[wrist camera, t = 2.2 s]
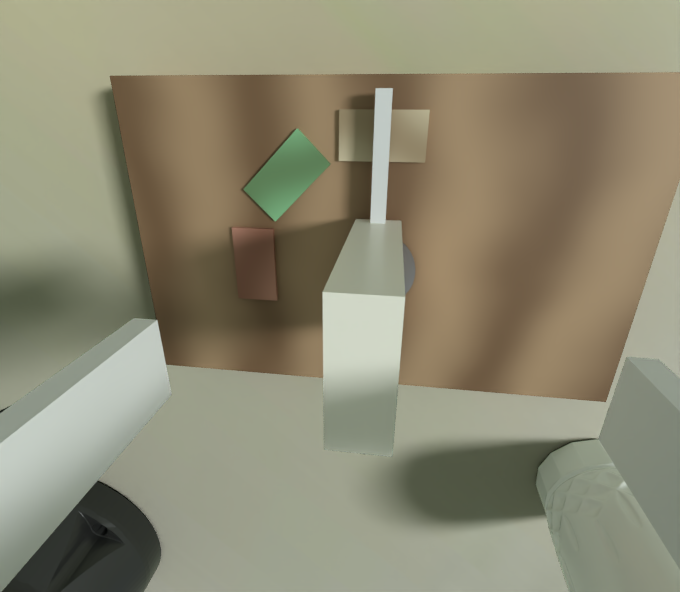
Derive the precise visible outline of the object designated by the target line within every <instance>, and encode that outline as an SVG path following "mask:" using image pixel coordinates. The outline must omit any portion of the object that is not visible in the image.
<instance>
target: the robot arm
mask: <svg viewBox="0 0 680 592" xmlns="http://www.w3.org/2000/svg"><path fill="white" fill-rule="evenodd" d="M171 395H172V393H171V388H170V383H169V378H168V372H167V367H166V362H165V357H164V352H163V347H162V342H161V337H160V331H159V326H158V321H157V320H153V319H140V318H133V319H132V320H130V321H129V322H128V323H126V324H125V325H123V326H122V327H121V328H119V329H118V330H116V331H115V332H114V333H112V334H111V335H109V336H108V337H107V338H105V339H104V340H102V341H101V342H100V343H98V344H97V345H95V346H94V347H93V348H91V349H90V350H88V351H87V352H86V353H84V354H83V355H81V356H80V357H79V358H77V359H76V360H74V361H73V362H72V363H70V364H69V365H67V366H66V367H65V368H63V369H62V370H60V371H59V372H58V373H56V374H55V375H53V376H52V377H50V378H49V379H48V380H46V381H45V382H43V383H42V384H41V385H39V386H38V387H36V388H35V389H34V390H32V391H31V392H29V393H28V394H27V395H25V396H24V397H22V398H21V399H20V400H18V401H17V402H15V403H14V404H13V405H11V406H9V407H7V408H5V409H3V410H0V592H144V590H145V589H146V587H147V585H148V584H149V582H150V580H151V578H152V576H153V574H154V573H155V571H156V569H157V567H158V565H159V563H160V558H161V547H160V543H159V539H158V537H157V534H156V532H155V530H154V529H153V527H152V525H151V524H150V522H149V521H148V520H147V518H146V517H145V516H144V515H143V514H142V513H141V511H140V510H139V509H138V508H136V507H135V506H134V505H133V504H132V503H131V502H130V501H128V500H127V499H126V498H124V497H123V496H122V495H120V494H119V493H117V492H116V491H114V490H112V489H111V488H109V487H107V486H105V485H103V484H101V483H99V482H97V481H98V479H99V478H100V477H101V476H102V475H103V474H104V472H105V471H106V470H107V469H108V468H109V467H110V465H111V464H112V463H113V462H114V461H115V460H116V459H117V457H118V456H119V455H120V454H121V453H122V452H123V450H124V449H125V448H126V447H127V446H128V445H129V443H130V442H131V441H132V440H133V439H134V438H135V437H136V435H137V434H138V433H139V432H140V431H141V430H142V428H143V427H144V426H145V425H146V424H147V423H148V421H149V420H150V419H151V418H152V417H153V416H154V414H155V413H156V412H157V411H158V410H159V409H160V408H161V406H162V405H163V404H164V403H165V402H166V401H167V399H168V398H169V397H170V396H171ZM598 439H599V441H600V443H601V444H602V446H603V447H604V449H605V451H606V452H607V454H608V455H609V457H610V459H611V460H612V462H613V463H614V465H615V467H616V468H617V470H618V472H619V473H620V475H621V476H622V478H623V480H624V481H625V483H626V484H627V486H628V488H629V489H630V491H631V492H632V494H633V496H634V497H635V499H636V500H637V502H638V504H639V505H640V507H641V508H642V510H643V512H644V513H645V515H646V516H647V518H648V520H649V521H650V523H651V524H652V526H653V528H654V529H655V531H656V532H657V534H658V536H659V537H660V539H661V540H662V542H663V544H664V545H665V547H666V548H667V550H668V552H669V553H670V555H671V557H672V558H673V560H674V561H675V563H676V565H677V566H678V568H679V569H680V378H679V377H678V376H677V375H675V374H674V373H673V372H672V371H671V370H670V369H669V368H668V367H667V366H666V365H665V364H663V363H662V362H661V361H660V360H659V359H648V358H635V357H626V360H625V363H624V366H623V369H622V372H621V375H620V378H619V380H618V383H617V386H616V389H615V392H614V395H613V398H612V401H611V404H610V407H609V409H608V412H607V415H606V418H605V421H604V424H603V427H602V430H601V433H600V435H599V438H598Z"/></svg>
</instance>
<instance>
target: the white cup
mask: <svg viewBox="0 0 680 592" xmlns="http://www.w3.org/2000/svg"><path fill="white" fill-rule="evenodd" d="M536 487H537V490H538V493H539V496H540V498H541V501H542V504H543V507H544V510H545V513H546V516H547V521H548V528H549V531H550V534H551V538H552V541H553V544H554V547H555V550H556V554H557V558H558V561H559V564H560V567H561V570H562V573H563V576H564V579H565V582H566V585H567V588H568V591H569V592H680V569H679V568H678V566H677V565H676V563H675V561H674V560H673V558H672V557H671V555H670V553H669V552H668V550H667V548H666V547H665V545H664V544H663V542H662V540H661V539H660V537H659V536H658V534H657V532H656V531H655V529H654V528H653V526H652V524H651V523H650V521H649V520H648V518H647V516H646V515H645V513H644V512H643V510H642V508H641V507H640V505H639V504H638V502H637V500H636V499H635V497H634V496H633V494H632V492H631V491H630V489H629V488H628V486H627V484H626V483H625V481H624V480H623V478H622V476H621V475H620V473H619V472H618V470H617V468H616V467H615V465H614V463H613V462H612V460H611V459H610V457H609V455H608V454H607V452H606V451H605V449H604V447H603V446H602V444H601V443H600V441H599V440H598V439H594V440H586V441H579V442H572V443H569V444H567V445H565V446H563V447H561V448H559V449H557V450H555V451H553V452H551V453H550V454H549V456H548V457H547V458H546V459H545V460H544V461H543V463H542V464H541V465H540V466H539V467H538V473H537V480H536Z"/></svg>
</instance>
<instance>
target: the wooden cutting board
mask: <svg viewBox="0 0 680 592" xmlns="http://www.w3.org/2000/svg"><path fill="white" fill-rule="evenodd" d="M110 80H111V85H112V90H113V95H114V101H115V106H116V111H117V116H118V121H119V127H120V132H121V137H122V142H123V148H124V153H125V158H126V163H127V169H128V174H129V179H130V184H131V190H132V195H133V200H134V205H135V211H136V216H137V221H138V226H139V231H140V237H141V242H142V247H143V252H144V258H145V263H146V268H147V273H148V279H149V284H150V289H151V294H152V300H153V305H154V310H155V315H156V320H157V321H158V326H159V331H160V337H161V342H162V347H163V352H164V357H165V362H166V365H178V366H190V367H201V368H213V369H225V370H237V371H248V372H260V373H272V374H284V375H295V376H307V377H319V378H323V293H322V292H323V290H324V288H325V285H326V283H327V281H328V279H329V277H330V274H331V272H332V270H333V268H334V266H335V264H336V261H337V259H338V257H339V255H340V253H341V250H342V248H343V246H344V244H345V242H346V239H347V237H348V235H349V233H350V231H351V228H352V226H353V224H354V222H355V220H356V219H370V216H371V191H372V166H373V140H374V115H375V90H376V88H393V95H392V113H391V131H390V150H389V168H388V186H387V205H386V220H398V221H401V223H402V243H403V262H404V282H405V307H404V319H403V332H402V344H401V357H400V369H399V382H398V384H401V385H413V386H425V387H436V388H448V389H460V390H472V391H484V392H495V393H507V394H519V395H531V396H542V397H554V398H566V399H578V400H589V401H601V402H606V400H607V397H608V394H609V391H610V388H611V385H612V382H613V379H614V376H615V373H616V370H617V367H618V364H619V361H620V358H621V355H622V352H623V349H624V346H625V343H626V340H627V337H628V334H629V331H630V328H631V325H632V322H633V319H634V315H635V312H636V309H637V306H638V303H639V300H640V297H641V294H642V291H643V288H644V285H645V282H646V279H647V276H648V273H649V270H650V267H651V264H652V261H653V258H654V255H655V252H656V249H657V246H658V243H659V240H660V237H661V234H662V231H663V228H664V225H665V222H666V219H667V216H668V213H669V210H670V207H671V204H672V201H673V198H674V195H675V192H676V189H677V186H678V183H679V180H680V72H670V73H503V74H335V75H168V76H110Z"/></svg>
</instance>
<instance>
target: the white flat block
mask: <svg viewBox="0 0 680 592" xmlns="http://www.w3.org/2000/svg"><path fill="white" fill-rule="evenodd" d="M392 95H393V88H376V90H375V115H374V140H373V166H372V191H371V216H370V219H356V220H355V222H354V224H353V226H352V228H351V231H350V233H349V235H348V237H347V239H346V242H345V244H344V246H343V248H342V250H341V253H340V255H339V257H338V259H337V261H336V264H335V266H334V268H333V270H332V272H331V274H330V277H329V279H328V281H327V283H326V285H325V288H324V290H323V292H322V293H323V412H324V450H332V451H341V452H350V453H360V454H369V455H378V456H388V457H392V456H393V444H394V431H395V419H396V407H397V394H398V382H399V369H400V357H401V344H402V332H403V319H404V307H405V282H404V262H403V243H402V223H401V221H398V220H386V205H387V186H388V168H389V150H390V131H391V113H392Z"/></svg>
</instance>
